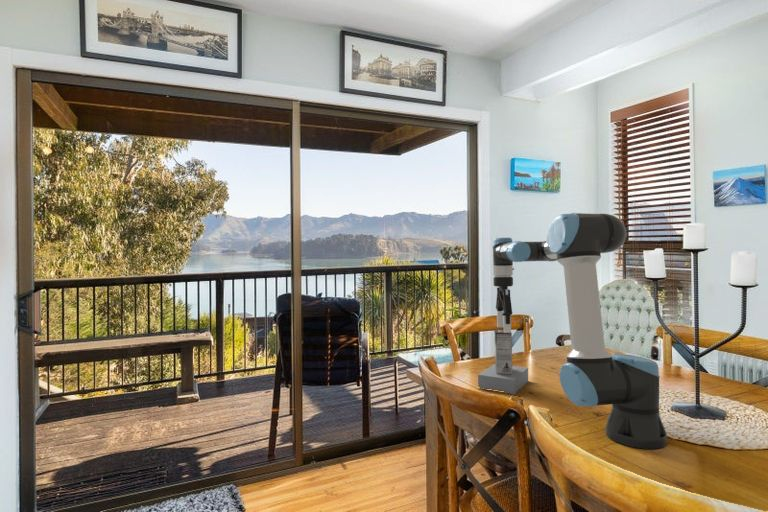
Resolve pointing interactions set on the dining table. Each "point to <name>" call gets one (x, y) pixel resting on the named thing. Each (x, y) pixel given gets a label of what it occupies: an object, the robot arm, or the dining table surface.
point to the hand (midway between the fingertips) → (503, 329)
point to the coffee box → (503, 352)
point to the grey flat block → (503, 379)
